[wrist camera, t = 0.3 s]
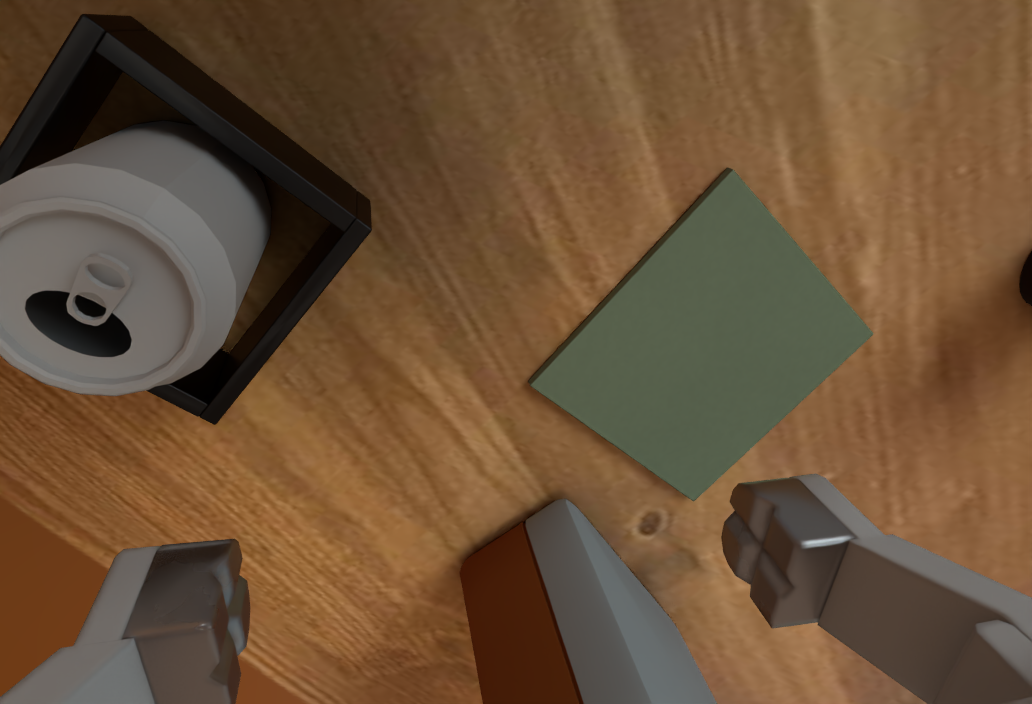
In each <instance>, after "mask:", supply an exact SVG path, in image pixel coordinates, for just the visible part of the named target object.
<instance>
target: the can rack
mask: <svg viewBox="0 0 1032 704" xmlns="http://www.w3.org/2000/svg"><path fill="white" fill-rule="evenodd" d="M122 71H123V72H124V73H126V74H127V75H128V76H130V77H131V78H133V79H134V80H135V81H137V82H138V83H139V84H141V85H142V86H144V87H145V88H146V89H148V90H149V91H150V92H152V93H153V94H155V95H156V96H157V97H159V98H160V99H162V100H163V101H164V102H166V103H167V104H168V105H170V106H171V107H173V108H174V109H175V110H177V111H178V112H179V113H181V114H182V115H184V116H185V117H186V118H188V119H189V120H190V121H192V122H193V123H195V124H196V125H197V126H199V127H200V128H201V129H203V130H204V131H206V132H207V133H208V134H210V135H211V136H212V137H214V138H215V139H217V140H218V141H219V142H221V143H222V144H223V145H225V146H226V147H228V148H229V149H230V150H232V151H233V152H234V153H236V154H237V155H239V156H240V157H241V158H243V159H244V160H245V161H247V162H248V163H250V164H251V165H252V166H254V167H255V168H256V169H258V170H259V171H261V172H262V173H263V174H265V175H266V176H267V177H269V178H270V179H272V180H273V181H274V182H276V183H277V184H278V185H280V186H281V187H283V188H284V189H285V190H287V191H288V192H290V193H291V194H292V195H294V196H295V197H296V198H298V199H299V200H301V201H302V202H303V203H305V204H306V205H307V206H309V207H310V208H312V209H313V210H314V211H316V212H317V213H318V214H320V215H321V216H323V217H324V218H325V219H327V220H328V221H329V222H331V224H330V226H329V227H328V228H327V229H326V231H325V232H324V233H323V235H322V236H321V237H320V238H319V240H318V241H317V242H316V243H315V245H314V246H313V247H312V249H311V250H310V251H309V252H308V254H307V255H306V256H305V258H304V259H303V260H302V261H301V263H300V264H299V265H298V266H297V268H296V269H295V270H294V272H293V273H292V274H291V275H290V277H289V278H288V279H287V281H286V282H285V283H284V284H283V286H282V287H281V288H280V289H279V291H278V292H277V293H276V295H275V296H274V297H273V298H272V300H271V301H270V302H269V304H268V305H267V306H266V307H265V309H264V310H263V311H262V312H261V314H260V315H259V316H258V318H257V319H256V320H255V321H254V323H253V324H252V325H251V327H250V328H249V329H248V330H247V332H246V333H245V334H244V336H243V337H242V338H241V339H240V341H239V342H238V343H237V344H236V346H235V347H234V348H233V350H232V351H231V352H230V353H229V355H228V353H226V352H224V351H223V350H221V349H219V350H218V351H217V352H216V353H215V354H214V355H213V356H212V357H211V358H210V359H209V360H208V361H207V362H206V363H205V364H204V365H203V366H202V367H201V368H200V369H198V370H196V371H194V372H192V373H190V374H188V375H186V376H184V377H182V378H180V379H178V380H176V381H175V382H173V383H170V384H165V385H160V386H155V387H153V388H151V389H149V390H146V391H148V392H150V393H152V394H154V395H156V396H158V397H160V398H162V399H164V400H166V401H168V402H170V403H172V404H174V405H176V406H178V407H180V408H182V409H184V410H186V411H188V412H190V413H192V414H194V415H196V416H198V417H199V416H200V418H202V419H204V420H206V421H208V422H210V423H212V424H214V425H215V424H217V423H218V421H219V420H220V419H221V418H222V416H223V415H224V414H225V413H226V411H227V410H228V409H229V408H230V406H231V405H232V404H233V403H234V401H235V400H236V399H237V398H238V396H239V395H240V394H241V393H242V391H243V390H244V389H245V388H246V386H247V385H248V384H249V383H250V382H251V380H252V379H253V378H254V377H255V375H256V374H257V373H258V372H259V370H260V369H261V368H262V367H263V365H264V364H265V363H266V362H267V360H268V359H269V358H270V357H271V355H272V354H273V353H274V352H275V350H276V349H277V348H278V347H279V345H280V344H281V343H282V342H283V340H284V339H285V338H286V337H287V335H288V334H289V333H290V332H291V330H292V329H293V328H294V327H295V325H296V324H297V323H298V322H299V320H300V319H301V318H302V317H303V315H304V314H305V313H306V312H307V310H308V309H309V308H310V307H311V306H312V304H313V303H314V302H315V301H316V299H317V298H318V297H319V296H320V294H321V293H322V292H323V291H324V289H325V288H326V287H327V286H328V284H329V283H330V282H331V281H332V279H333V278H334V277H335V276H336V274H337V273H338V272H339V271H340V269H341V268H342V267H343V266H344V264H345V263H346V262H347V261H348V259H349V258H350V257H351V256H352V254H353V253H354V252H355V251H356V249H357V248H358V247H359V246H360V244H361V243H362V242H363V241H364V239H365V238H366V237H367V236H368V235H369V233H370V232H371V230H372V225H371V205H370V200H369V199H368V198H366V197H365V196H364V195H362V194H361V193H360V192H359V191H357V190H356V189H355V188H354V187H352V186H351V185H350V184H348V183H347V182H346V181H344V180H343V179H342V178H341V177H339V176H338V175H337V174H335V173H334V172H333V171H332V170H330V169H329V168H328V167H326V166H325V165H324V164H322V163H321V162H320V161H319V160H317V159H316V158H315V157H313V156H312V155H311V154H309V153H308V152H307V151H306V150H304V149H303V148H302V147H300V146H299V145H298V144H296V143H295V142H294V141H293V140H291V139H290V138H289V137H287V136H286V135H285V134H284V133H282V132H281V131H280V130H278V129H277V128H276V127H274V126H273V125H272V124H271V123H269V122H268V121H267V120H265V119H264V118H263V117H261V116H260V115H259V114H258V113H256V112H255V111H254V110H252V109H251V108H250V107H248V106H247V105H246V104H245V103H243V102H242V101H241V100H239V99H238V98H237V97H236V96H234V95H233V94H232V93H230V92H229V91H228V90H226V89H225V88H224V87H223V86H221V85H220V84H219V83H217V82H216V81H215V80H213V79H212V78H211V77H210V76H208V75H207V74H206V73H204V72H203V71H202V70H201V69H199V68H198V67H197V66H195V65H194V64H193V63H191V62H190V61H189V60H188V59H186V58H185V57H184V56H182V55H181V54H180V53H178V52H177V51H176V50H175V49H173V48H172V47H171V46H169V45H168V44H167V43H165V42H164V41H163V40H162V39H160V38H159V37H158V36H156V35H155V34H154V33H153V32H151V31H148V29H147V28H146V27H144V26H143V25H142V24H141V23H139V22H138V21H137V20H135V19H134V18H133V17H131V16H118V15H96V14H82V15H81V16H80V17H79V19H78V21H77V22H76V24H75V25H74V27H73V29H72V30H71V32H70V34H69V35H68V37H67V38H66V40H65V42H64V43H63V45H62V47H61V48H60V50H59V51H58V53H57V55H56V56H55V58H54V60H53V61H52V63H51V64H50V66H49V68H48V69H47V71H46V73H45V74H44V76H43V78H42V79H41V81H40V82H39V84H38V86H37V87H36V89H35V91H34V92H33V94H32V95H31V97H30V99H29V100H28V102H27V104H26V105H25V107H24V108H23V110H22V112H21V113H20V115H19V117H18V118H17V120H16V121H15V123H14V125H13V126H12V128H11V130H10V131H9V133H8V134H7V136H6V138H5V139H4V141H3V143H2V144H1V146H0V185H1V184H3V183H5V182H7V181H9V180H11V179H13V178H15V177H17V176H19V175H21V174H22V173H24V172H26V171H28V170H30V169H32V168H35V167H37V166H39V165H42V164H44V163H46V162H49V161H51V160H53V159H56V158H58V157H60V156H63V155H65V154H67V153H69V152H71V150H72V149H73V147H74V146H75V144H76V143H77V141H78V140H79V138H80V136H81V135H82V133H83V132H84V130H85V129H86V127H87V126H88V124H89V123H90V121H91V119H92V118H93V116H94V115H95V113H96V112H97V110H98V109H99V107H100V105H101V104H102V102H103V101H104V99H105V98H106V96H107V95H108V93H109V92H110V90H111V88H112V87H113V85H114V84H115V82H116V81H117V79H118V78H119V76H120V75H121V73H122Z"/></svg>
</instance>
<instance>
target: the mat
mask: <svg viewBox="0 0 1032 704" xmlns="http://www.w3.org/2000/svg"><path fill="white" fill-rule="evenodd" d="M872 335H873V333H872V331H871V330H870V329H869V328H868V327H867V325H866V324H865V323H864V322H863V321H862V320H861V318H860V317H859V316H858V315H857V314H856V313H855V311H854V310H853V309H852V308H851V307H850V306H849V304H848V303H847V302H846V301H845V300H844V299H843V297H842V296H841V295H840V294H839V293H838V292H837V290H836V289H835V288H834V287H833V286H832V285H831V283H830V282H829V281H828V280H827V279H826V278H825V276H824V275H823V274H822V273H821V272H820V271H819V269H818V268H817V267H816V266H815V265H814V264H813V262H812V261H811V260H810V259H809V258H808V256H807V255H806V254H805V253H804V252H803V251H802V249H801V248H800V247H799V246H798V245H797V244H796V242H795V241H794V240H793V239H792V238H791V237H790V235H789V234H788V233H787V232H786V231H785V230H784V228H783V227H782V226H781V225H780V224H779V223H778V221H777V220H776V219H775V218H774V217H773V216H772V214H771V213H770V212H769V211H768V210H767V209H766V207H765V206H764V205H763V204H762V203H761V202H760V200H759V199H758V198H757V197H756V196H755V194H754V193H753V192H752V191H751V190H750V189H749V187H748V186H747V185H746V184H745V183H744V182H743V180H742V179H741V178H740V177H739V176H738V175H737V173H736V172H735V171H734V170H733V169H730V168H727V169H726V170H725V171H724V172H723V173H722V174H721V175H720V176H719V177H718V178H717V179H716V181H715V182H714V183H713V184H712V185H711V186H710V187H709V188H708V189H707V190H706V191H705V192H704V193H703V194H702V196H701V197H700V198H699V199H698V200H697V201H696V202H695V203H694V204H693V205H692V206H691V207H690V208H689V209H688V210H687V212H686V213H685V214H684V215H683V216H682V217H681V218H680V219H679V220H678V221H677V222H676V223H675V224H674V225H673V227H672V228H671V229H670V230H669V231H668V232H667V233H666V234H665V235H664V236H663V237H662V238H661V239H660V240H659V242H658V243H657V244H656V245H655V246H654V247H653V248H652V249H651V250H650V251H649V252H648V253H647V254H646V255H645V256H644V258H643V259H642V260H641V261H640V262H639V263H638V264H637V265H636V266H635V267H634V268H633V269H632V270H631V271H630V273H629V274H628V275H627V276H626V277H625V278H624V279H623V280H622V281H621V282H620V283H619V284H618V285H617V286H616V288H615V289H614V290H613V291H612V292H611V293H610V294H609V295H608V296H607V297H606V298H605V299H604V300H603V301H602V302H601V304H600V305H599V306H598V307H597V308H596V309H595V310H594V311H593V312H592V313H591V314H590V315H589V316H588V317H587V319H586V320H585V321H584V322H583V323H582V324H581V325H580V326H579V327H578V328H577V329H576V330H575V331H574V332H573V334H572V335H571V336H570V337H569V338H568V339H567V340H566V341H565V342H564V343H563V344H562V345H561V346H560V347H559V349H558V350H557V351H556V352H555V353H554V354H553V355H552V356H551V357H550V358H549V359H548V360H547V361H546V362H545V363H544V365H543V366H542V367H541V368H540V369H539V370H538V371H537V372H536V373H535V374H534V375H533V376H532V377H531V378H530V380H529V381H528V382H529V384H530V386H531V387H533V388H534V389H535V390H537V391H538V392H540V393H541V394H543V395H544V396H545V397H547V398H548V399H550V400H551V401H552V402H554V403H555V404H557V405H558V406H560V407H561V408H562V409H564V410H565V411H567V412H568V413H569V414H571V415H572V416H574V417H575V418H576V419H578V420H579V421H581V422H582V423H584V424H585V425H586V426H588V427H589V428H591V429H592V430H593V431H595V432H596V433H598V434H599V435H600V436H602V437H603V438H605V439H606V440H608V441H609V442H610V443H612V444H613V445H615V446H616V447H617V448H619V449H620V450H622V451H623V452H624V453H626V454H627V455H629V456H630V457H632V458H633V459H634V460H636V461H637V462H639V463H640V464H641V465H643V466H644V467H646V468H647V469H648V470H650V471H651V472H653V473H654V474H656V475H657V476H658V477H660V478H661V479H663V480H664V481H665V482H667V483H668V484H670V485H671V486H673V487H674V488H675V489H677V490H678V491H680V492H681V493H682V494H684V495H685V496H687V497H688V498H689V499H691V500H692V501H695V500H696V499H697V498H698V497H699V496H700V495H701V494H702V493H703V492H704V491H706V490H707V489H708V488H709V487H710V486H711V485H712V484H713V483H714V482H715V481H716V480H717V479H718V478H719V477H721V476H722V475H723V474H724V473H725V472H726V471H727V470H728V469H729V468H730V467H731V466H732V465H733V464H735V463H736V462H737V461H738V460H739V459H740V458H741V457H742V456H743V455H744V454H745V453H746V452H747V451H749V450H750V449H751V448H752V447H753V446H754V445H755V444H756V443H757V442H758V441H759V440H760V439H761V438H762V437H764V436H765V435H766V434H767V433H768V432H769V431H770V430H771V429H772V428H773V427H774V426H775V425H776V424H778V423H779V422H780V421H781V420H782V419H783V418H784V417H785V416H786V415H787V414H788V413H789V412H790V411H792V410H793V409H794V408H795V407H796V406H797V405H798V404H799V403H800V402H801V401H802V400H803V399H804V398H805V397H807V396H808V395H809V394H810V393H811V392H812V391H813V390H814V389H815V388H816V387H817V386H818V385H819V384H821V383H822V382H823V381H824V380H825V379H826V378H827V377H828V376H829V375H830V374H831V373H832V372H833V371H835V370H836V369H837V368H838V367H839V366H840V365H841V364H842V363H843V362H844V361H845V360H846V359H847V358H848V357H850V356H851V355H852V354H853V353H854V352H855V351H856V350H857V349H858V348H859V347H860V346H861V345H862V344H864V343H865V342H866V341H867V340H868V339H869V338H870V337H871V336H872Z"/></svg>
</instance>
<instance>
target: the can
mask: <svg viewBox="0 0 1032 704" xmlns="http://www.w3.org/2000/svg"><path fill="white" fill-rule="evenodd" d="M271 211H272V209H271V206H270V203H269V199H268V196H267V193H266V189H265V186H264V183H263V182H262V180H261V179H260V177H259V176H258V174H257V173H256V171H255V170H254V168H253V167H252V165H251V164H250V163H248V162H247V161H245V160H244V159H243V158H241V157H240V156H239V155H237V154H236V153H234V152H233V151H232V150H230V149H229V148H228V147H226V146H225V145H223V144H222V143H221V142H219V141H218V140H217V139H215V138H214V137H212V136H211V135H210V134H208V133H207V132H206V131H204V130H203V129H201V128H199V127H197V126H195V125H189V124H183V123H177V122H171V121H165V120H164V121H156V122H149V123H142V124H134V125H132V126H130V127H127V128H125V129H123V130H120V131H118V132H116V133H114V134H111V135H109V136H107V137H104V138H102V139H100V140H97V141H95V142H93V143H90V144H88V145H86V146H83V147H81V148H79V149H76V150H74V151H72V152H69V153H67V154H65V155H63V156H60V157H58V158H56V159H53V160H51V161H49V162H46V163H44V164H42V165H39V166H37V167H35V168H32V169H30V170H28V171H26V172H24V173H22V174H21V175H19V176H17V177H15V178H13V179H11V180H9V181H7V182H5V183H3V184H1V185H0V355H1V356H2V357H3V358H4V359H5V360H6V361H7V362H8V363H9V364H10V365H12V366H13V367H15V368H17V369H19V370H21V371H22V372H24V373H26V374H28V375H29V376H31V377H33V378H35V379H37V380H38V381H40V382H42V383H44V384H47V385H50V386H54V387H57V388H61V389H64V390H68V391H71V392H74V393H78V394H86V395H104V396H119V395H125V394H130V393H135V392H140V391H145V390H149V389H151V388H153V387H155V386H160V385H165V384H170V383H173V382H175V381H176V380H178V379H180V378H182V377H184V376H186V375H188V374H190V373H192V372H194V371H196V370H198V369H200V368H201V367H202V366H203V365H204V364H205V363H206V362H207V361H208V360H209V359H210V358H211V357H212V356H213V355H214V354H215V353H216V352H217V351H218V350H219V349H220V348H221V347H222V346H223V344H224V342H225V340H226V337H227V335H228V333H229V330H230V328H231V326H232V323H233V321H234V319H235V317H236V314H237V312H238V310H239V307H240V305H241V303H242V300H243V298H244V296H245V293H246V291H247V289H248V286H249V284H250V282H251V279H252V277H253V275H254V272H255V270H256V268H257V266H258V263H259V261H260V259H261V256H262V254H263V251H264V249H265V247H266V244H267V242H268V239H269V237H270V235H271Z"/></svg>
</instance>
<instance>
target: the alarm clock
mask: <svg viewBox="0 0 1032 704" xmlns="http://www.w3.org/2000/svg"><path fill="white" fill-rule="evenodd" d="M460 578H461V583H462V589H463V594H464V600H465V605H466V611H467V616H468V622H469V627H470V633H471V639H472V644H473V650H474V656H475V661H476V667H477V673H478V678H479V684H480V689H481V695H482V700H483V704H717V703H716V701H715V699H714V697H713V695H712V693H711V691H710V689H709V687H708V685H707V683H706V681H705V680H704V678H703V676H702V674H701V672H700V670H699V668H698V666H697V664H696V662H695V661H694V659H693V657H692V655H691V653H690V651H689V649H688V647H687V645H686V643H685V642H684V640H683V638H682V636H681V634H680V632H679V631H678V629H677V627H676V626H675V624H674V623H673V621H672V620H671V619H670V617H669V616H668V615H667V614H666V613H665V611H664V610H663V609H662V608H661V607H660V605H659V604H658V603H657V602H656V601H655V599H654V598H653V597H652V596H651V595H650V593H649V592H648V591H647V590H646V589H645V588H644V586H643V585H642V584H641V583H640V582H639V580H638V579H637V578H636V577H635V576H634V575H633V573H632V572H631V571H630V570H629V569H628V567H627V566H626V565H625V564H624V563H623V561H622V560H621V559H620V558H619V557H618V555H617V554H616V553H615V552H614V551H613V550H612V548H611V547H610V546H609V545H608V544H607V542H606V541H605V540H604V539H603V537H602V536H601V535H600V534H599V533H598V532H597V530H596V529H595V528H594V527H593V526H592V524H591V523H590V522H589V521H588V520H587V519H586V517H585V516H584V515H583V514H582V513H581V511H580V510H579V509H578V508H577V507H576V506H575V505H573V504H572V503H571V502H569V501H568V500H567V499H560V500H556V501H554V502H553V503H551V504H550V505H548V506H547V507H545V508H544V509H542V510H540V511H539V512H537V513H536V514H534V515H533V516H531V517H530V518H528V519H527V520H526V524H525V523H523V522H522V523H521V524H519V525H517V526H516V527H514V528H513V529H511V530H510V531H508V532H507V533H505V534H504V535H502V536H501V537H499V538H498V539H496V540H495V541H493V542H491V543H490V544H488V545H487V546H485V547H484V548H482V549H481V550H479V551H478V552H476V553H475V554H473V555H472V556H470V557H469V558H467V559H466V560H465V562H464V563H463V565H462V567H461V570H460Z"/></svg>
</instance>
